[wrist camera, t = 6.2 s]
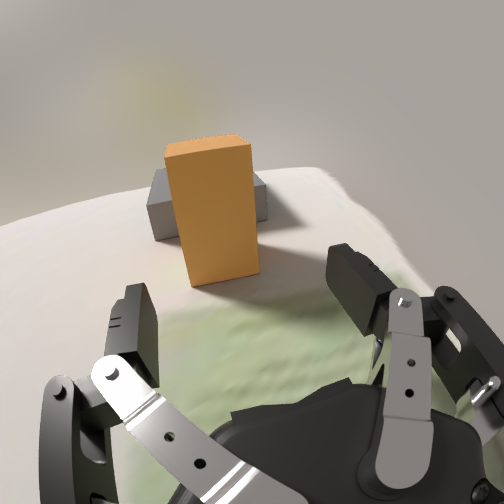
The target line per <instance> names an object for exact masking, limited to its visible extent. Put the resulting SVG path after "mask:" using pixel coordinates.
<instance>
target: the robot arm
mask: <svg viewBox="0 0 504 504" xmlns="http://www.w3.org/2000/svg"><path fill="white" fill-rule="evenodd" d="M326 281H327V284H328V286H329V288H330V289H331V291H332V292H333V294H334V295H335V296H336V298H337V299H338V300H339V302H340V303H341V305H342V306H343V307H344V309H345V310H346V312H347V313H348V315H349V316H350V317H351V319H352V320H353V322H354V323H355V325H356V326H357V327H358V329H359V330H360V332H361V333H362V335H363V336H364V337H365V336H368V335H370V334H374V335H375V336H376V337H375V339H374V344H373V352H372V359H371V365H370V371H369V376H368V380H367V383H366V384H352V382H351V380H350V379H349V377H348V378H345V379H343V380H340V381H337V382H335V383H332V384H329V385H326V386H324V387H321V388H320V389H318V390H317V391H315V392H313V393H312V394H310V395H309V396H307V397H305V398H304V399H302V400H300V401H299V402H297V403H293V404H279V405H260V406H256V407H252V408H248V409H243V410H239V411H234V412H230V413H231V417H232V420H231V421H228V422H226V423H225V424H223V425H221V426H220V427H219V428H217V429H216V430H215V431H214V432H213V433H212V434H211V435H210V436H208V435H207V434H205V433H204V432H203V431H202V430H200V429H199V428H198V427H197V426H196V425H194V424H193V423H192V422H191V421H190V420H188V419H187V418H186V417H185V416H184V415H183V414H182V413H180V412H179V411H178V410H177V409H176V408H175V407H174V406H173V405H172V404H170V403H169V402H168V401H167V400H166V399H165V398H164V397H163V396H162V395H160V394H157V393H156V392H155V391H154V390H153V389H152V388H159V387H160V386H159V365H158V321H157V315H156V311H155V308H154V306H153V303H152V301H151V298H150V295H149V293H148V290H147V287H146V285H145V283H139V284H134V285H129V286H127V287H126V291H125V297H124V299H120V300H117V302H116V303H115V305H114V306H113V308H112V310H111V315H110V321H109V326H108V327H109V329H108V332H107V338H106V345H105V352H104V358H102V359H101V360H99V361H98V362H97V363H96V365H95V366H94V368H93V371H92V374H91V375H89V376H87V377H84V378H82V379H79V380H77V381H74V382H73V381H72V380H71V379H70V378H69V377H68V376H65V375H58V376H55V377H54V378H52V379H51V380H50V381H49V382H48V383H47V385H46V387H45V390H44V396H43V403H42V412H41V422H40V436H39V489H40V502H41V504H119V501H118V496H117V490H116V483H115V476H114V468H113V459H112V448H111V435H110V427H113V426H115V425H118V424H120V423H124V425H125V426H126V427H127V428H128V430H129V431H130V432H131V433H132V434H133V435H134V437H135V438H136V439H137V440H138V441H139V442H140V443H141V444H142V445H143V447H144V448H145V449H146V450H147V451H148V452H149V453H150V454H151V455H152V456H153V457H154V458H155V459H156V460H157V461H158V462H159V463H160V464H161V465H162V466H163V467H164V468H165V469H166V470H167V471H168V472H169V473H170V474H171V475H173V476H174V477H175V478H176V479H177V480H178V481H179V482H180V484H179V486H178V488H177V489H176V491H175V492H174V494H173V496H172V497H171V499H170V501H169V502H168V504H504V493H502V492H501V491H499V490H498V489H497V488H495V487H494V486H493V485H492V484H491V483H490V482H489V481H488V479H487V477H486V474H485V470H484V465H483V453H482V446H483V445H484V444H485V443H487V442H488V441H489V440H490V439H491V438H492V437H493V436H494V435H495V434H497V433H498V432H499V431H501V430H502V429H503V428H504V345H503V343H502V342H501V341H500V339H499V338H498V337H497V336H496V334H495V333H494V332H493V331H492V330H491V328H490V327H489V326H488V325H487V324H486V322H485V321H484V320H483V319H482V318H481V317H480V315H479V314H478V313H477V312H476V311H475V310H474V309H473V308H472V306H471V305H469V303H468V302H467V301H466V300H465V299H464V298H463V297H462V296H461V295H460V293H459V292H458V291H456V290H455V289H453V288H451V287H448V286H440V287H438V288H437V289H436V291H435V293H434V296H432V297H419V296H418V295H417V294H416V293H415V292H414V291H412V290H409V289H406V288H397V287H396V286H395V285H394V284H393V283H392V281H391V280H390V279H389V278H388V277H387V276H386V275H385V274H384V273H383V272H382V271H381V270H379V268H378V267H377V266H376V265H374V263H373V262H372V261H371V260H370V259H369V258H368V257H367V256H365V255H363V254H361V253H359V252H355V251H354V250H353V249H352V248H351V247H350V246H349V245H348V244H346V243H343V244H338V245H333V246H330V247H329V249H328V257H327V266H326ZM449 328H450V330H451V331H452V332H453V333H454V335H455V336H456V337H457V339H458V340H459V341H460V344H461V351H460V353H459V351H458V350H457V349H456V347H455V346H454V345H453V343H452V342H451V341H450V339H449V338H448V337H447V335H446V333H447V331H448V330H449ZM432 367H433V368H434V370H435V371H436V373H437V374H438V376H439V377H440V379H441V381H442V382H443V384H444V385H445V387H446V389H447V390H448V392H449V393H450V395H451V397H452V398H453V400H454V402H455V403H456V412H457V413H456V414H455V416H454V417H453V416H450V415H447V414H444V413H442V412H439V411H437V410H434V409H431V389H432Z"/></svg>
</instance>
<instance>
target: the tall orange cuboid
mask: <svg viewBox="0 0 504 504" xmlns="http://www.w3.org/2000/svg"><path fill="white" fill-rule="evenodd" d="M164 159H165V165H166V171H167V176H168V182H169V187H170V193H171V198H172V203H173V208H174V213H175V218H176V222H177V227H178V232H179V236H180V241H181V245H182V250H183V254H184V258H185V262H186V267H187V271H188V275H189V279H190V283H191V287H195V286H200V285H205V284H210V283H215V282H220V281H225V280H230V279H235V278H240V277H244V276H249V275H254V274H259V273H260V272H259V256H258V241H257V226H256V211H255V196H254V181H253V167H252V153H251V144H250V143H248V142H247V141H245V140H243V139H242V138H240V137H239V136H237V135H235V134H229V135H221V136H214V137H208V138H200V139H194V140H188V141H182V142H177V143H172V144H168V145H167V149H166V153H165V157H164Z"/></svg>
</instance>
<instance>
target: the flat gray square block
mask: <svg viewBox="0 0 504 504" xmlns="http://www.w3.org/2000/svg"><path fill="white" fill-rule="evenodd" d="M253 181H254V196H255V211H256V222H258V221H264V220H267V202H266V184H265V183H264V182H263V181H262V180H261V179H260V178H259V177H258V176H257V175H256V174H255V173H254V172H253ZM146 206H147V210H148V214H149V219H150V223H151V226H152V230H153V234H154V238H155V241H157V240H162V239H167V238H172V237H177V236H179V232H178V227H177V222H176V218H175V213H174V208H173V203H172V198H171V193H170V187H169V182H168V176H167V171H166V168H164V169H159V170H156V172H155V176H154V179H153V183H152V186H151V190H150V193H149V197H148V201H147V205H146Z"/></svg>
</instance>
